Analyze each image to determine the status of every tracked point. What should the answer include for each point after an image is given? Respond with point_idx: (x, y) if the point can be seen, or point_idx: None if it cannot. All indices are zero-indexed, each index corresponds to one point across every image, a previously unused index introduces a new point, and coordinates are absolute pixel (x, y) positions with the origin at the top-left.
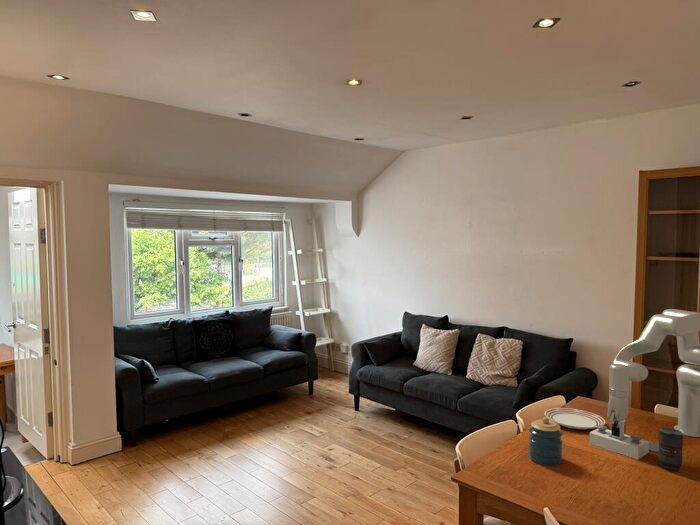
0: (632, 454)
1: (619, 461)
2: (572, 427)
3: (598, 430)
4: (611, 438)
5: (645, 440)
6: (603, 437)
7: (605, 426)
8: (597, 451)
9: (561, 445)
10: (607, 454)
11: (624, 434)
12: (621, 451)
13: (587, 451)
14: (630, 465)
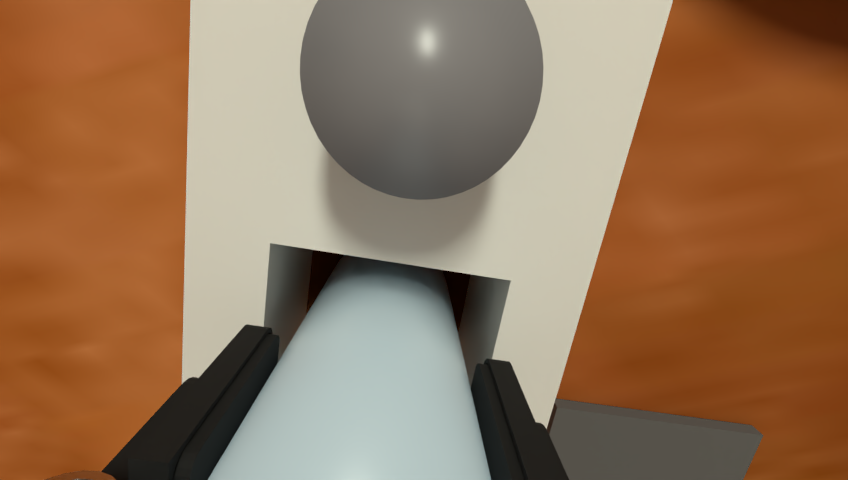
0: None
1: (58, 385)
2: None
3: None
4: (227, 309)
5: (750, 455)
6: (189, 189)
7: (494, 149)
8: (115, 142)
9: None
10: (128, 254)
11: (548, 406)
12: None
13: (7, 41)
14: (58, 471)
